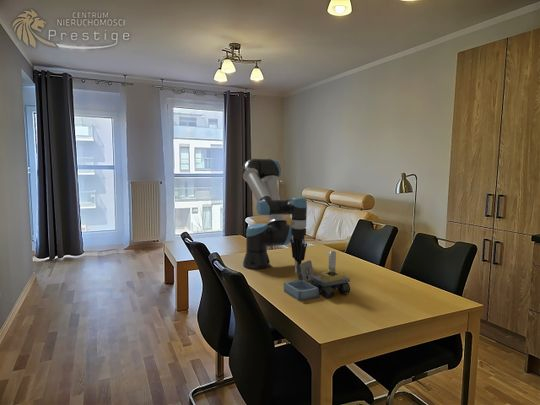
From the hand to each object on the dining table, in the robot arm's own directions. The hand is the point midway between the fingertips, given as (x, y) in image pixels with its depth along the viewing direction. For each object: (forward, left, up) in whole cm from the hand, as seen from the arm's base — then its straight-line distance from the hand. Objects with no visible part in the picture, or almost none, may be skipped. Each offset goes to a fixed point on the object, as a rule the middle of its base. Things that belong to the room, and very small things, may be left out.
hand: (297, 272), depth 187 cm
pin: (+28, 0, +5) cm, 28 cm away
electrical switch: (+7, 0, -2) cm, 7 cm away
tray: (+23, -13, -2) cm, 26 cm away
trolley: (+27, 0, -2) cm, 27 cm away
